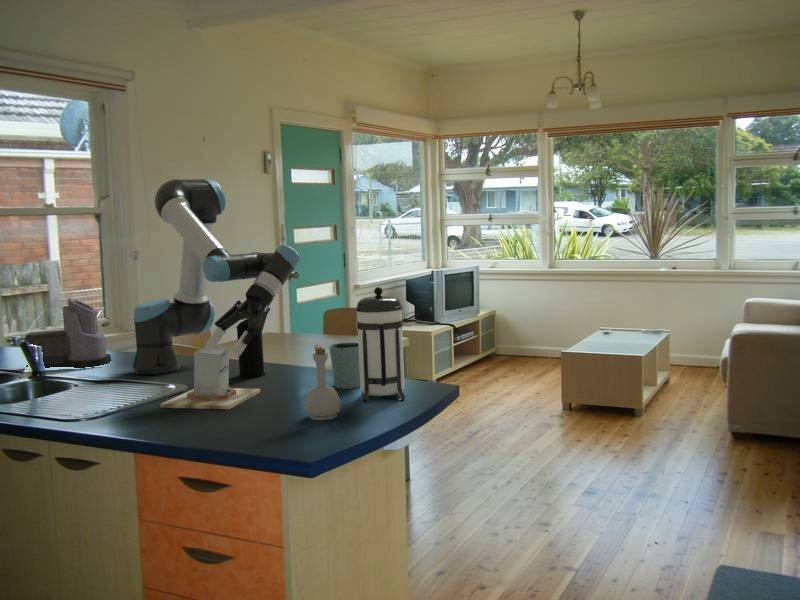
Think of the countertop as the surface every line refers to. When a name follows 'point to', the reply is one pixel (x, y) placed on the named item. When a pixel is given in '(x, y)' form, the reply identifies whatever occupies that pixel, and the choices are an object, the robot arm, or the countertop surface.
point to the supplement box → (211, 371)
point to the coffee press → (380, 346)
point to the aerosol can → (250, 354)
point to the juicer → (73, 339)
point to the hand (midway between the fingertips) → (222, 350)
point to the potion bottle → (322, 392)
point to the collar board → (211, 399)
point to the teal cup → (345, 365)
